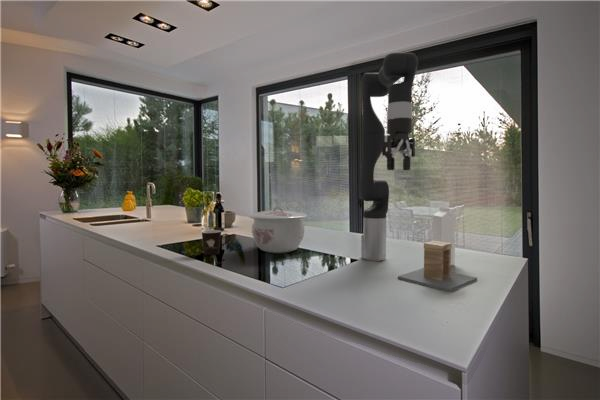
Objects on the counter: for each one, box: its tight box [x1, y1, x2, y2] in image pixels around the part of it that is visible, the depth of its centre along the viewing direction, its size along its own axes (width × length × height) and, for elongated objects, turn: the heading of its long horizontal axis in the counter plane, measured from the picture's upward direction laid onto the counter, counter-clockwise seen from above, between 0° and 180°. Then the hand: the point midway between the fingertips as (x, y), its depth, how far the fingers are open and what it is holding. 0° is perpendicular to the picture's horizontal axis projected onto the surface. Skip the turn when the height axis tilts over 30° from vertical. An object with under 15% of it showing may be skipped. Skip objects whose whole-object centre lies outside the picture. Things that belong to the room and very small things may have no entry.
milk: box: [431, 206, 457, 266], centre depth 135 cm, size 6×6×22 cm
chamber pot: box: [248, 206, 309, 254], centre depth 162 cm, size 28×28×21 cm
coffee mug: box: [201, 229, 231, 256], centre depth 156 cm, size 12×9×10 cm
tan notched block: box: [423, 240, 452, 281], centre depth 115 cm, size 6×6×11 cm
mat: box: [397, 267, 478, 293], centre depth 115 cm, size 18×18×1 cm
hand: (398, 170), depth 110 cm, fingers open, 8 cm apart
